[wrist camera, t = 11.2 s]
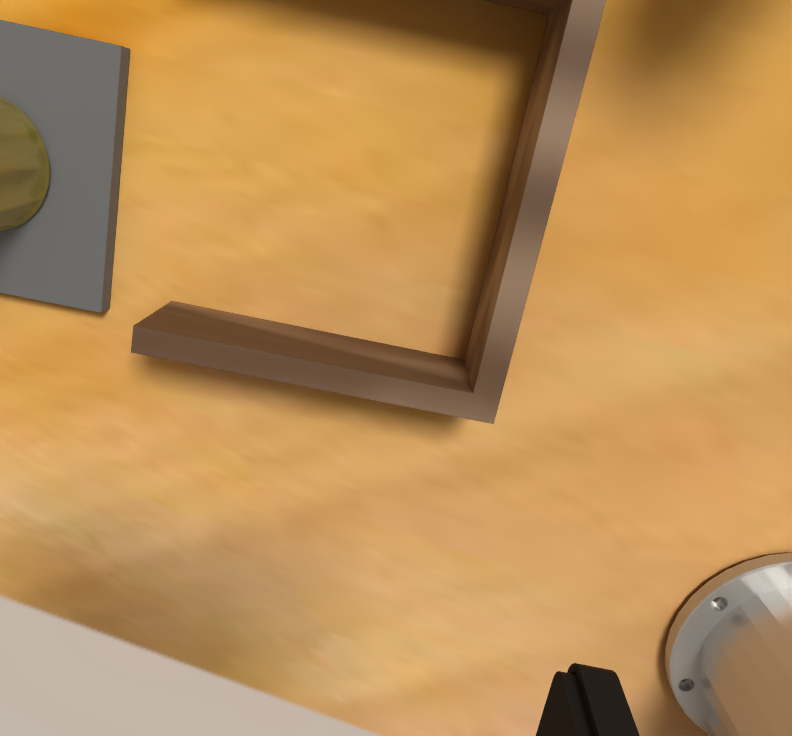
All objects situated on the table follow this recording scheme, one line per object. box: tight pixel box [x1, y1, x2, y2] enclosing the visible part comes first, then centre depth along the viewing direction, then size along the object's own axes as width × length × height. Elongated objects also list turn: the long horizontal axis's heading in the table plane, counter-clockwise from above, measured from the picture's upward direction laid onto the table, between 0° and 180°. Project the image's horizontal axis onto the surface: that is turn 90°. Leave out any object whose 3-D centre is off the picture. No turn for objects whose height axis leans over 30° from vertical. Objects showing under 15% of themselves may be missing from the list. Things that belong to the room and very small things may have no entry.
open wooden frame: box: [131, 0, 606, 424], centre depth 30 cm, size 18×16×5 cm
